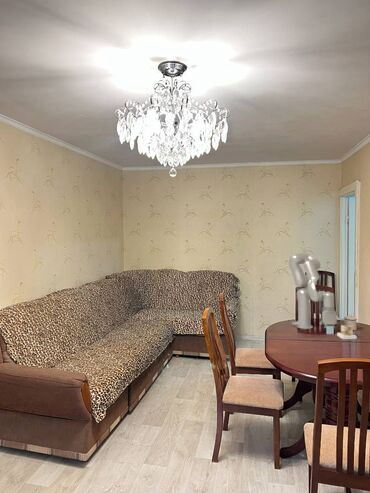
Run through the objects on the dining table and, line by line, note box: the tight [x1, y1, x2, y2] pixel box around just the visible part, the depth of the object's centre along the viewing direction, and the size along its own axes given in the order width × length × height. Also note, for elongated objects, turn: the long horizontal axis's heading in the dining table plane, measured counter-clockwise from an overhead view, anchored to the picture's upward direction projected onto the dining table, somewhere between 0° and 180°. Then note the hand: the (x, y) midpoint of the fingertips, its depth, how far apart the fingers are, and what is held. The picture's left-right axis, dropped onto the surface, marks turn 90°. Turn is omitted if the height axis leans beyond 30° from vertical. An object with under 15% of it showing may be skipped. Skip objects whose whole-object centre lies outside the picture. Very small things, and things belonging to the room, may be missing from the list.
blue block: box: [325, 324, 335, 335], centre depth 276 cm, size 5×5×6 cm
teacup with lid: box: [339, 314, 357, 331], centre depth 288 cm, size 12×9×12 cm
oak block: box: [340, 324, 354, 336], centre depth 265 cm, size 6×6×6 cm
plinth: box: [336, 332, 358, 340], centre depth 265 cm, size 10×10×2 cm
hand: (329, 332), depth 277 cm, fingers closed on blue block, 5 cm apart
